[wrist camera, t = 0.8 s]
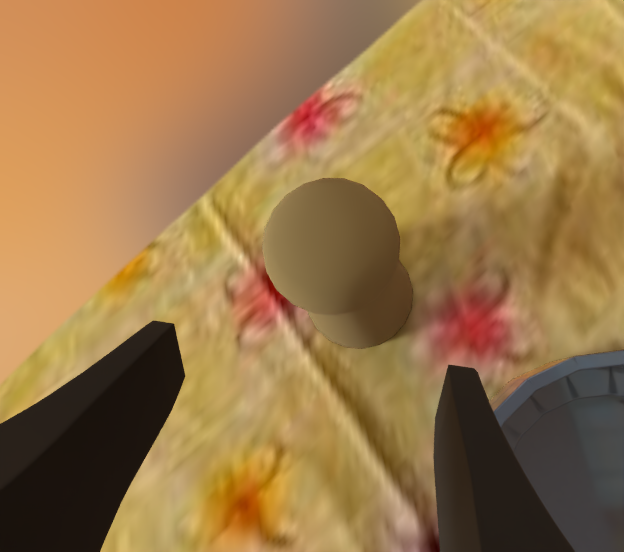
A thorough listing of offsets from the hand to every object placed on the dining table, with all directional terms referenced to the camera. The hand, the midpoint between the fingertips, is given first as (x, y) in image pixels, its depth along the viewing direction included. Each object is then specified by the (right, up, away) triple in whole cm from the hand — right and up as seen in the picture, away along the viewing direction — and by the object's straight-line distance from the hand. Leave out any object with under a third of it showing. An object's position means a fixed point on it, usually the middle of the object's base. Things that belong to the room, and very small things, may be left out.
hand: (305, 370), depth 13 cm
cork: (+3, +1, +15) cm, 15 cm away
